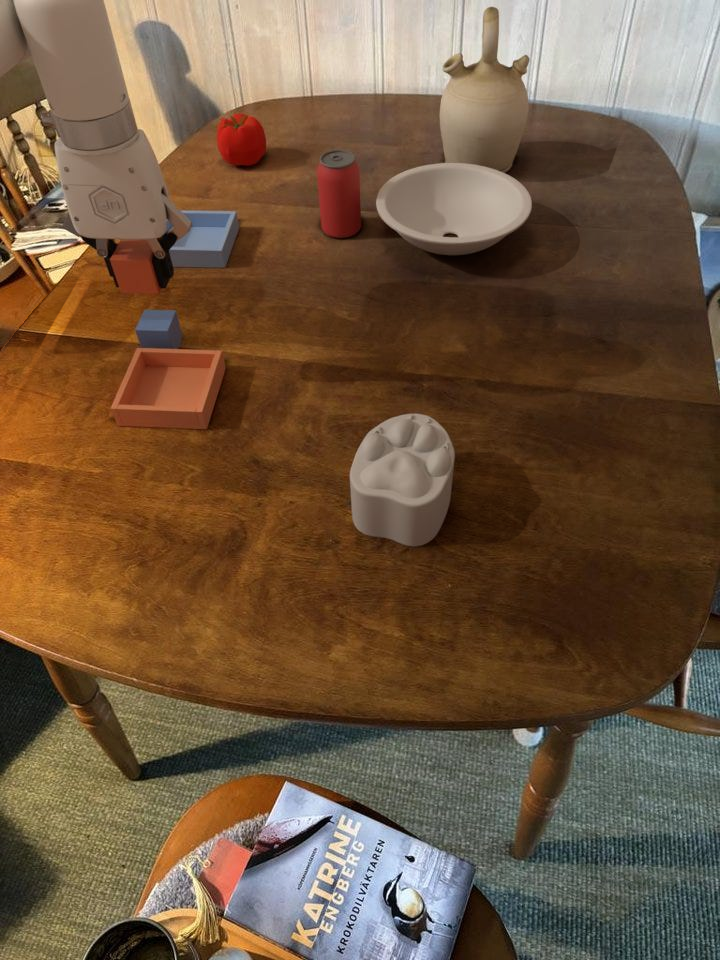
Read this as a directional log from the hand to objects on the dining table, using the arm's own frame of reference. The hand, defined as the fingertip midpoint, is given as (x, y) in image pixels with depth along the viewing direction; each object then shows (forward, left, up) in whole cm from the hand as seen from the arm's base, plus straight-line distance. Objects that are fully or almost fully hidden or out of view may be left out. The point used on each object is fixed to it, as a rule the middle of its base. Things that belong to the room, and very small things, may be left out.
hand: (144, 280), depth 85 cm
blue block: (-3, +6, -15) cm, 17 cm away
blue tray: (-4, +31, -15) cm, 35 cm away
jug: (+42, +60, -15) cm, 75 cm away
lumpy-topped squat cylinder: (+32, -19, -15) cm, 40 cm away
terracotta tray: (+1, -4, -15) cm, 16 cm away
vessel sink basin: (+37, +35, -15) cm, 53 cm away
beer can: (+19, +37, -15) cm, 45 cm away
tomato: (-2, +60, -15) cm, 62 cm away
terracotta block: (0, 0, 0) cm, 0 cm away
